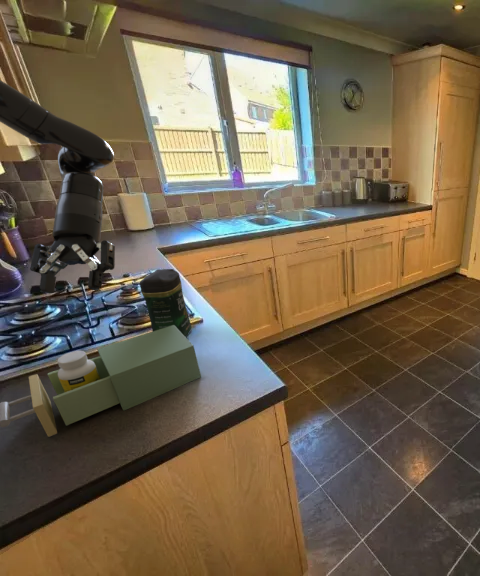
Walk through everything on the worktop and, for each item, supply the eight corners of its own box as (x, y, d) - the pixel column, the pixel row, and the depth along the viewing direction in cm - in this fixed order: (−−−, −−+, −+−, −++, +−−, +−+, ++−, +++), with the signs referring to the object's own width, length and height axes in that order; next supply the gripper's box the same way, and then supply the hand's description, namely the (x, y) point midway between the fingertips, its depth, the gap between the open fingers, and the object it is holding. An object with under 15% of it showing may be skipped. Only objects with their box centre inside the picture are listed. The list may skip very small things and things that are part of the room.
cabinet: (123, 411, 65) (110, 376, 61) (109, 381, 73) (97, 348, 69) (201, 377, 75) (193, 345, 71) (181, 354, 83) (174, 324, 79)
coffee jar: (184, 343, 87) (168, 279, 79) (151, 346, 85) (131, 280, 78) (196, 325, 95) (182, 265, 88) (166, 327, 94) (149, 266, 86)
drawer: (9, 453, 55) (-9, 423, 52) (7, 417, 62) (-9, 388, 59) (139, 398, 67) (129, 371, 64) (125, 373, 74) (116, 348, 71)
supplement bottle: (76, 411, 62) (56, 369, 58) (65, 399, 65) (46, 358, 61) (110, 394, 66) (94, 354, 62) (99, 384, 69) (83, 345, 65)
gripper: (26, 213, 67) (14, 289, 63) (102, 209, 69) (95, 283, 65) (57, 228, 74) (47, 297, 70) (125, 225, 76) (120, 292, 72)
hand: (70, 290), depth 68 cm, fingers open, 8 cm apart
